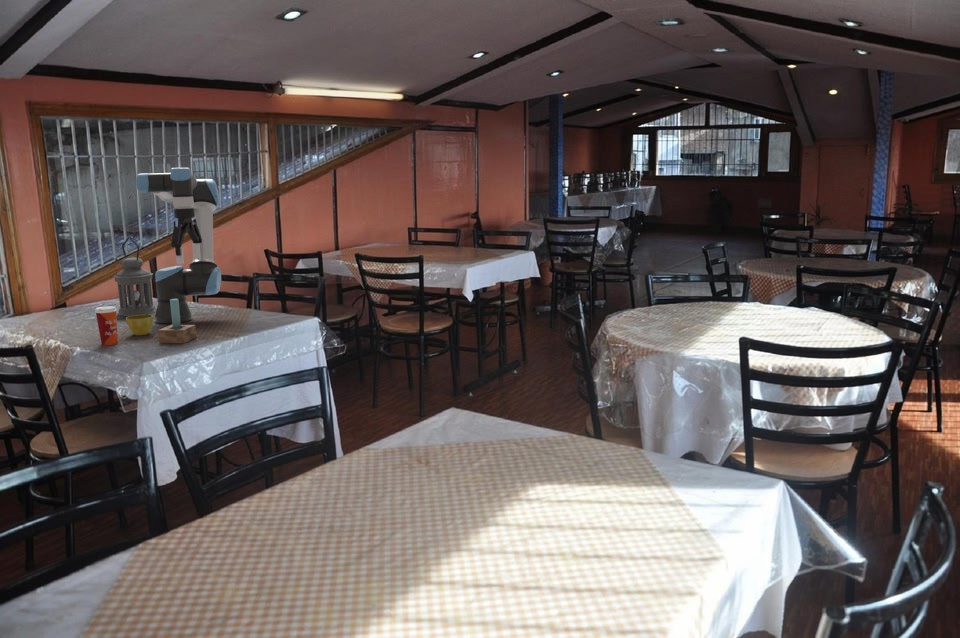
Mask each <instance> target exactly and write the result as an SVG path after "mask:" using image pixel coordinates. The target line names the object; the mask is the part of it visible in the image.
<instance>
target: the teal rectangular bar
mask: <svg viewBox="0 0 960 638" xmlns="http://www.w3.org/2000/svg"><path fill="white" fill-rule="evenodd" d="M170 305H171V316H172V323H171V325H172V326H173V329H180V328H181V325H182V322H180V311H179V301H178V299H170Z"/></svg>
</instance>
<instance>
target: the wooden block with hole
mask: <svg viewBox="0 0 960 638" xmlns="http://www.w3.org/2000/svg"><path fill="white" fill-rule="evenodd" d="M157 334H158V343H159V344H186V343H187V342H189V341H192V340H194V339H196V338H197V329H196V324H181V328H180V329H173V326H172V324H170V325H168V326H165V327H163V328H160V329H158V330H157Z"/></svg>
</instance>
